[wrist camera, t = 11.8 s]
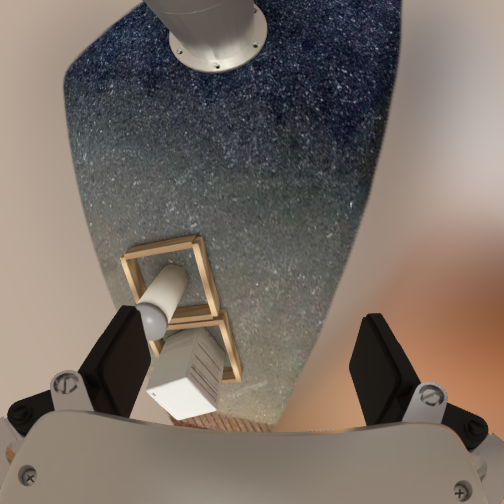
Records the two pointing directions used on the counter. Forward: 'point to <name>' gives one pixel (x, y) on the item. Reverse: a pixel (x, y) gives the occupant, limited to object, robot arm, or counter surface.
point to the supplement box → (188, 374)
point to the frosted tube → (162, 300)
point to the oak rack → (193, 314)
